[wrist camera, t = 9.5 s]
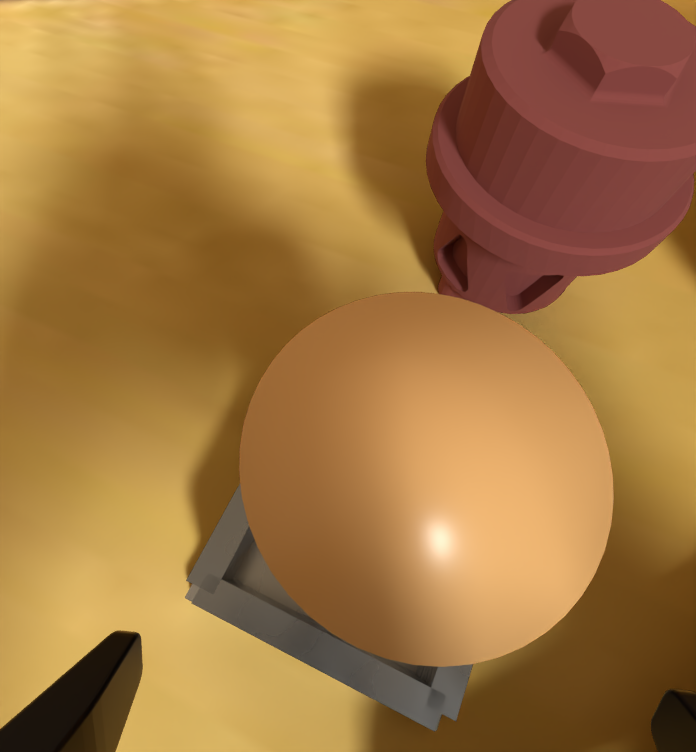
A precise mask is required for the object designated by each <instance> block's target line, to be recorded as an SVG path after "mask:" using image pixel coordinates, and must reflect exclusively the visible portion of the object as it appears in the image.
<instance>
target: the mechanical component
mask: <svg viewBox="0 0 696 752" xmlns="http://www.w3.org/2000/svg"><path fill="white" fill-rule="evenodd" d="M426 167H427V175H428V179H429V182H430V186H431V189H432V191H433V193H434V195H435V197H436V199H437V201H438V203H439V204H440V206H441V207H442V209H443V210H444V211H443V214H442V217H441V219H440V222H439V225H438V228H437V231H436V235H435V239H434V255H435V260H436V263H437V265H438V268H439V270H440V272H441V274H442V277H441V280H440V282H439V285H438V291H439V293H440V294H442V295H447V296H452V297H457V298H461V299H464V300H468V301H470V302H473V303H477V304H480V305H482V306H484V307H487V308H489V309H491V310H494V311H496V312H500V313H508V314H520V313H528V312H533V311H536V310H539V309H541V308H544V307H546V306H548V305H549V304H551V303H552V302H554V301H555V300H556V299H557V298H558V297H559V296H560V295H561V294H562V293H563V292H564V291H565V289H566V287H567V286H568V285H569V284H570V283H571V282H572V281H573V280H574V279H575V278H576V277H577V276H590V275H601V274H605V273H609V272H613V271H618V270H620V269H623V268H625V267H627V266H630V265H632V264H634V263H636V262H637V261H639V260H641V259H642V258H644V257H645V256H647V255H648V254H649V253H650V252H651V251H652V250H653V249H654V248H655V247H656V246H657V245H658V244H660V243H661V242H662V241H663V240H664V239H665V238H666V237H667V236H668V235H669V234H670V233H671V232H672V231H673V230H674V229H675V228H676V227H677V225H678V224H679V223H680V222H681V221H682V220H683V218H684V216H685V215H686V213H687V211H688V209H689V207H690V204H691V200H692V197H693V191H694V176H693V173H694V172H695V171H696V27H695V26H694V25H692V24H691V23H690V22H688V21H687V20H686V19H685V18H684V17H683V16H682V15H681V14H680V13H679V12H678V11H677V10H675V9H674V8H672V7H671V6H669V5H668V4H666V3H664V2H663V1H661V0H511V1H510V2H508V3H506V4H505V5H503V6H502V7H501V8H500V9H499V10H498V11H496V12H495V13H494V15H493V16H492V17H491V19H490V20H489V21H488V23H487V25H486V27H485V30H484V32H483V35H482V38H481V42H480V45H479V48H478V51H477V55H476V58H475V61H474V64H473V68H472V71H471V74H470V76H469V77H467V78H465V79H464V80H463V81H461V82H460V83H458V84H457V85H456V86H455V87H454V88H453V89H452V90H451V91H450V92H449V93H448V94H447V95H446V96H445V98H444V99H443V101H442V102H441V104H440V105H439V108H438V110H437V113H436V115H435V118H434V122H433V126H432V130H431V134H430V138H429V142H428V146H427V154H426Z"/></svg>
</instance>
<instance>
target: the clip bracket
mask: <svg viewBox="0 0 696 752" xmlns="http://www.w3.org/2000/svg"><path fill="white" fill-rule="evenodd" d="M186 581H188V582H190V583H192V585H191V587H190V589H189V591H188V593H187V595H186V596H185V598H186V599H188V600H190V601H191V602H192V604H194V605H196V606H198V607H200V608H202V609H203V610H205V611H207V612H209V613H211V614H213V615H215V616H217V617H219V618H221V619H222V620H224V621H226V622H228V623H230V624H232V625H234V626H236V627H238V628H239V629H241V630H243V631H245V632H247V633H249V634H251V635H253V636H255V637H257V638H258V639H260V640H262V641H264V642H266V643H268V644H270V645H272V646H274V647H275V648H277V649H279V650H281V651H283V652H285V653H287V654H289V655H291V656H292V657H294V658H296V659H298V660H300V661H302V662H304V663H306V664H308V665H310V666H311V667H313V668H315V669H317V670H319V671H321V672H323V673H325V674H327V675H328V676H330V677H332V678H334V679H336V680H338V681H340V682H342V683H344V684H346V685H347V686H349V687H351V688H353V689H355V690H357V691H359V692H361V693H363V694H364V695H366V696H368V697H370V698H372V699H374V700H376V701H378V702H380V703H382V704H383V705H385V706H387V707H389V708H391V709H393V710H395V711H397V712H399V713H400V714H402V715H404V716H406V717H408V718H410V719H412V720H414V721H416V722H418V723H419V724H421V725H423V726H425V727H427V728H429V729H431V730H433V731H435V730H436V731H437V729H438V725H439V722H440V719H441V716H442V714H443V715H445V716H447V717H449V718H450V719H452V720H454V721H456V720H457V716H458V713H459V710H460V706H461V703H462V699H463V696H464V693H465V689H466V686H467V683H468V679H469V676H470V672H471V669H472V666H473V664H471V665H459V666H447V667H437V666H423V665H412V664H408V663H403V662H399V661H394V660H390V659H385V658H383V657H380V656H377V655H375V654H372V653H370V652H367V651H364V650H362V649H359V648H357V647H355V646H353V645H352V644H350V643H348V642H346V641H345V640H343V639H341V638H339V637H337V636H336V635H334V634H332V633H331V632H330V631H328V630H327V629H326V628H324V627H323V626H322V625H320V624H319V623H318V622H316V621H315V620H314V619H312V618H311V617H310V616H309V615H308V614H307V613H306V612H305V611H304V610H303V609H302V608H301V607H300V606H299V605H298V604H297V603H296V602H295V601H294V600H293V599H292V598H291V597H290V596H289V595H288V594H287V592H286V591H285V590H284V588H283V587H282V586H281V584H280V583H279V582H278V580H277V579H276V578H275V576H274V575H273V574H272V572H271V571H270V569H269V567H268V565H267V563H266V562H265V560H264V558H263V556H262V554H261V553H260V551H259V549H258V547H257V544H256V542H255V539H254V537H253V534H252V532H251V529H250V527H249V524H248V521H247V516H246V512H245V508H244V504H243V500H242V494H241V485H240V484H239V486H238V488H237V490H236V491H235V493H234V495H233V497H232V499H231V500H230V502H229V504H228V506H227V508H226V509H225V511H224V513H223V515H222V517H221V519H220V520H219V522H218V524H217V526H216V528H215V529H214V531H213V533H212V535H211V537H210V539H209V540H208V542H207V544H206V546H205V548H204V549H203V551H202V553H201V555H200V557H199V558H198V560H197V562H196V564H195V566H194V568H193V569H192V571H191V573H190V575H189V577H188V578H187V580H186Z"/></svg>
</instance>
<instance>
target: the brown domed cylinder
mask: <svg viewBox="0 0 696 752" xmlns="http://www.w3.org/2000/svg"><path fill="white" fill-rule="evenodd" d="M239 476H240V485H241V494H242V500H243V504H244V508H245V512H246V516H247V521H248V524H249V527H250V529H251V532H252V534H253V537H254V539H255V542H256V544H257V547H258V549H259V551H260V553H261V554H262V556H263V558H264V560H265V562H266V563H267V565H268V567H269V569H270V571H271V572H272V574H273V575H274V576H275V578H276V579H277V580H278V582H279V583H280V584H281V586H282V587H283V588H284V590H285V591H286V592H287V594H288V595H289V596H290V597H291V598H292V599H293V600H294V601H295V602H296V603H297V604H298V605H299V606H300V607H301V608H302V609H303V610H304V611H305V612H306V613H307V614H308V615H309V616H310V617H311V618H312V619H314V620H315V621H316V622H318V623H319V624H320V625H322V626H323V627H324V628H326V629H327V630H328V631H330V632H331V633H332V634H334V635H336V636H337V637H339V638H341V639H343V640H345V641H346V642H348V643H350V644H352V645H353V646H355V647H357V648H359V649H362V650H364V651H367V652H370V653H372V654H375V655H377V656H380V657H383V658H385V659H390V660H394V661H399V662H403V663H408V664H412V665H423V666H437V667H447V666H459V665H471V664H475V663H479V662H483V661H487V660H491V659H495V658H499V657H501V656H503V655H506V654H508V653H510V652H513V651H515V650H517V649H520V648H522V647H524V646H526V645H527V644H529V643H530V642H532V641H534V640H535V639H537V638H538V637H540V636H542V635H543V634H545V633H546V632H547V631H548V630H550V629H551V628H552V627H553V626H554V625H555V624H556V623H558V622H559V621H560V620H561V619H562V618H563V617H564V616H566V614H567V613H568V612H569V611H570V610H571V608H572V607H573V606H574V605H575V604H576V602H577V601H578V600H579V599H580V598H581V596H582V595H583V593H584V592H585V590H586V588H587V587H588V585H589V583H590V582H591V580H592V578H593V577H594V575H595V573H596V571H597V568H598V566H599V563H600V561H601V559H602V556H603V554H604V551H605V548H606V544H607V540H608V536H609V532H610V528H611V521H612V512H613V502H614V497H613V474H612V468H611V461H610V455H609V450H608V447H607V443H606V440H605V436H604V433H603V430H602V427H601V425H600V422H599V420H598V418H597V415H596V413H595V411H594V408H593V406H592V405H591V403H590V401H589V399H588V397H587V396H586V394H585V392H584V390H583V389H582V387H581V386H580V384H579V383H578V381H577V380H576V379H575V377H574V376H573V374H572V373H571V372H570V370H569V369H568V368H567V367H566V366H565V364H564V363H563V362H562V361H561V360H560V359H559V358H558V357H557V356H556V354H555V353H554V352H553V351H552V350H551V349H549V348H548V347H547V346H546V345H545V344H544V343H543V342H542V341H541V340H539V339H538V338H537V337H536V336H535V335H533V334H532V333H530V332H529V331H528V330H526V329H525V328H523V327H522V326H521V325H519V324H518V323H516V322H514V321H512V320H511V319H509V318H507V317H505V316H504V315H502V314H500V313H498V312H496V311H494V310H491V309H489V308H487V307H484V306H482V305H480V304H477V303H473V302H470V301H467V300H464V299H461V298H457V297H452V296H447V295H442V294H434V293H423V292H398V293H390V294H382V295H376V296H372V297H368V298H364V299H360V300H356V301H354V302H351V303H349V304H346V305H344V306H341V307H338V308H336V309H334V310H332V311H331V312H329V313H327V314H325V315H323V316H321V317H320V318H318V319H316V320H315V321H314V322H312V323H311V324H309V325H308V326H307V327H305V328H304V329H302V330H301V331H300V332H299V333H298V334H297V335H296V336H295V337H294V338H292V339H291V340H290V341H289V342H288V343H287V344H286V345H285V346H284V347H283V349H282V350H281V351H280V352H279V353H278V355H277V356H276V357H275V358H274V359H273V361H272V362H271V364H270V365H269V367H268V368H267V370H266V371H265V373H264V375H263V376H262V378H261V379H260V381H259V383H258V386H257V388H256V390H255V392H254V394H253V397H252V399H251V401H250V404H249V407H248V411H247V414H246V417H245V421H244V424H243V430H242V437H241V443H240V457H239Z"/></svg>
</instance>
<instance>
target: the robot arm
mask: <svg viewBox="0 0 696 752" xmlns="http://www.w3.org/2000/svg"><path fill="white" fill-rule="evenodd" d="M142 669H143V663H142V646H141V636H140V634H139V633H137V632H129V631H115V632H113V633H111V634H110V635H109V636H108V637H106V638H105V639H104V640H103V641H102V642H101V643H99V644H98V645H97V646H96V647H95V648H94V649H93V650H91V651H90V652H89V653H88V654H87V655H86V656H84V657H83V658H82V659H81V660H80V661H79V662H77V663H76V664H75V665H74V666H73V667H72V668H71V669H69V670H68V671H67V672H66V673H65V674H64V675H62V676H61V677H60V678H59V679H58V680H57V681H55V682H54V683H53V684H52V685H51V686H50V687H49V688H47V689H46V690H45V691H44V692H43V693H42V694H40V695H39V696H38V697H37V698H36V699H35V700H33V701H32V702H31V703H30V704H29V705H28V706H26V707H25V708H24V709H23V710H22V711H21V712H20V713H18V714H17V715H16V716H15V717H14V718H13V719H11V720H10V721H9V722H8V723H7V724H6V725H4V726H3V727H2V728H1V729H0V752H115V751H116V749H117V746H118V743H119V740H120V737H121V734H122V732H123V729H124V726H125V723H126V720H127V717H128V714H129V712H130V709H131V706H132V703H133V700H134V697H135V694H136V692H137V689H138V686H139V683H140V680H141V675H142ZM651 731H652V736H653V739H654V742H655V745H656V748H657V750H658V752H696V693H695V692H693V691H689V690H680V689H669V690H667V691H666V692H665V693H664V695H663V697H662V699H661V701H660V703H659V705H658V707H657V709H656V711H655V713H654V715H653V717H652V720H651Z"/></svg>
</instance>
